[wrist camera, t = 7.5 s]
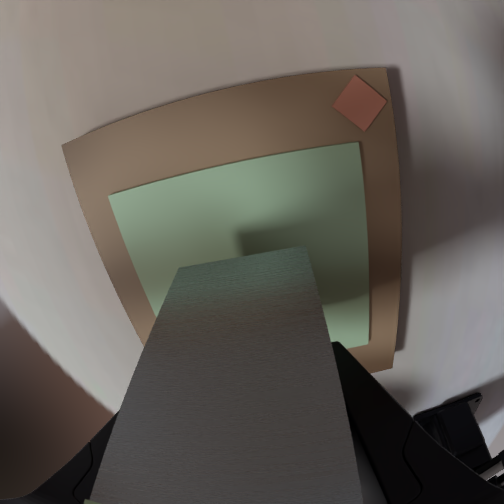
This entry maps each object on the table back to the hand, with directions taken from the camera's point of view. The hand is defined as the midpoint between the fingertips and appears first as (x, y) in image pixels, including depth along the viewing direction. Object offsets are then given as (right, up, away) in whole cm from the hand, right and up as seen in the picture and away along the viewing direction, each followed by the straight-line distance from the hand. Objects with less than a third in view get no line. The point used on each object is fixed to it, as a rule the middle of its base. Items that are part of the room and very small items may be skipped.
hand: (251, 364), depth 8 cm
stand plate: (0, +3, +5) cm, 6 cm away
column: (0, +1, +2) cm, 3 cm away
